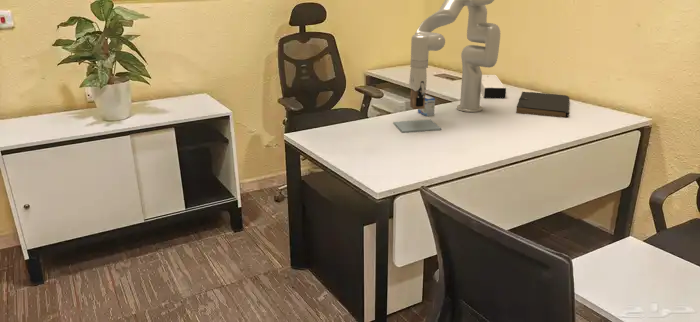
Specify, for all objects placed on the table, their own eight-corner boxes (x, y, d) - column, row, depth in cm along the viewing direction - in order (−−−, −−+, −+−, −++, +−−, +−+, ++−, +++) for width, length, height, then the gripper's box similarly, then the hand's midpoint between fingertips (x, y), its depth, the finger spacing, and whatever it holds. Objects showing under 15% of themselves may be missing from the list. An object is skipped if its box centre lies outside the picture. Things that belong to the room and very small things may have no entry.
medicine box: (417, 112, 262) (418, 95, 259) (425, 111, 264) (425, 94, 261) (426, 116, 255) (427, 99, 252) (434, 115, 257) (435, 97, 254)
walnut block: (410, 106, 238) (410, 88, 236) (420, 105, 239) (421, 88, 237) (413, 109, 234) (414, 91, 231) (424, 108, 235) (425, 90, 232)
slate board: (393, 123, 245) (393, 122, 245) (430, 121, 248) (430, 119, 248) (402, 132, 232) (402, 131, 232) (441, 130, 235) (441, 128, 235)
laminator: (476, 84, 318) (476, 74, 316) (497, 85, 317) (498, 74, 315) (483, 99, 287) (484, 87, 284) (507, 99, 285) (508, 88, 283)
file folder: (522, 90, 287) (570, 95, 278) (521, 98, 288) (568, 102, 280) (516, 106, 258) (569, 111, 250) (515, 114, 260) (567, 119, 251)
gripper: (405, 60, 237) (403, 100, 243) (417, 67, 221) (415, 110, 228) (421, 60, 238) (419, 99, 245) (434, 67, 223) (432, 109, 229)
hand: (417, 104), depth 236 cm, fingers closed on walnut block, 5 cm apart
